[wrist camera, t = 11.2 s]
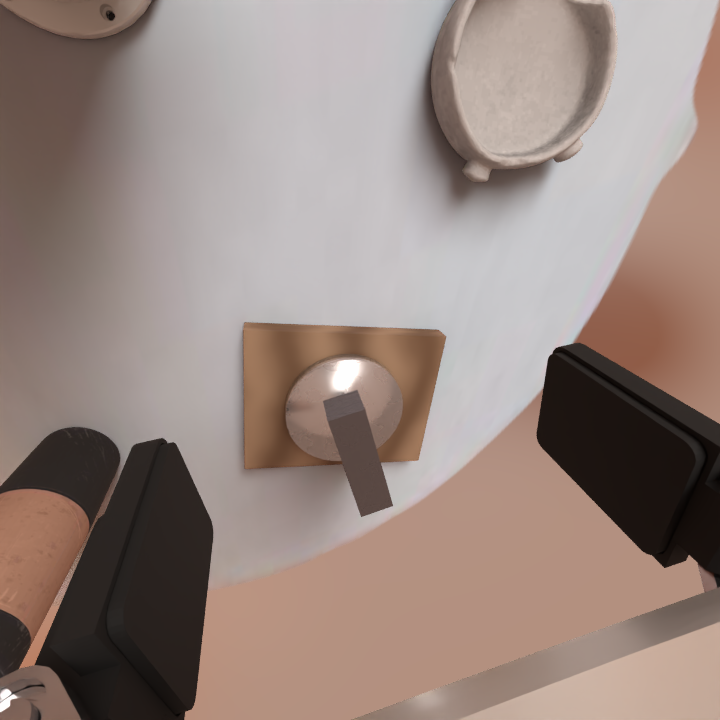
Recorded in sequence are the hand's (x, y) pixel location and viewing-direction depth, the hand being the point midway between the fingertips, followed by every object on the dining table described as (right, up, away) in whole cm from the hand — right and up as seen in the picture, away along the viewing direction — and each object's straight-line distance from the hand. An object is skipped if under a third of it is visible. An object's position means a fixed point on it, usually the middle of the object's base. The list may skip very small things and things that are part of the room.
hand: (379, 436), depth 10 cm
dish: (+11, +25, +23) cm, 36 cm away
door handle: (-2, -4, +31) cm, 32 cm away
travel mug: (-29, -8, +30) cm, 42 cm away
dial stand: (-3, -2, +33) cm, 33 cm away
